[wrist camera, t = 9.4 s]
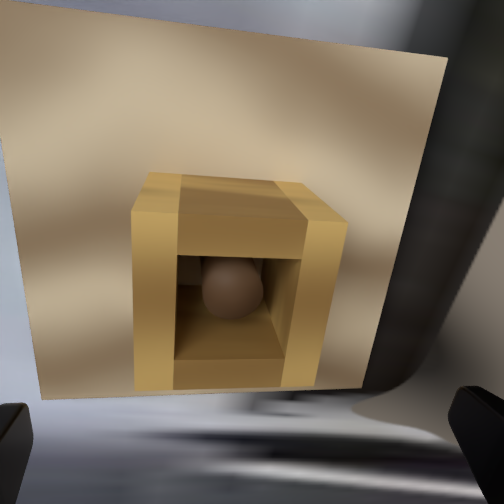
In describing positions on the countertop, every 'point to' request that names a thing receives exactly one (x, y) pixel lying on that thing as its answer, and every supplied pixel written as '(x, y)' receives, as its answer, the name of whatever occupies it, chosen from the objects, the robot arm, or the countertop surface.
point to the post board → (194, 171)
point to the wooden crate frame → (231, 245)
